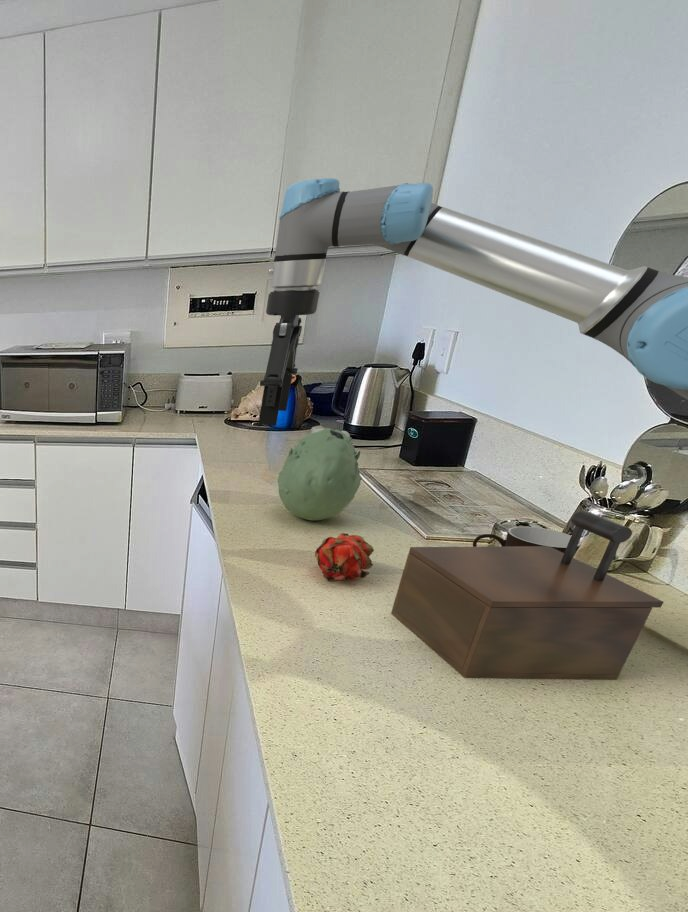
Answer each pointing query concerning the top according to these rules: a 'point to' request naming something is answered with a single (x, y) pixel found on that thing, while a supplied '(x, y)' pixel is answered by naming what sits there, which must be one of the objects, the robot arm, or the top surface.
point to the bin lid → (540, 571)
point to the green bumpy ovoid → (320, 474)
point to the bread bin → (514, 631)
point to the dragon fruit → (344, 557)
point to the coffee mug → (532, 538)
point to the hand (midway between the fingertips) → (272, 417)
